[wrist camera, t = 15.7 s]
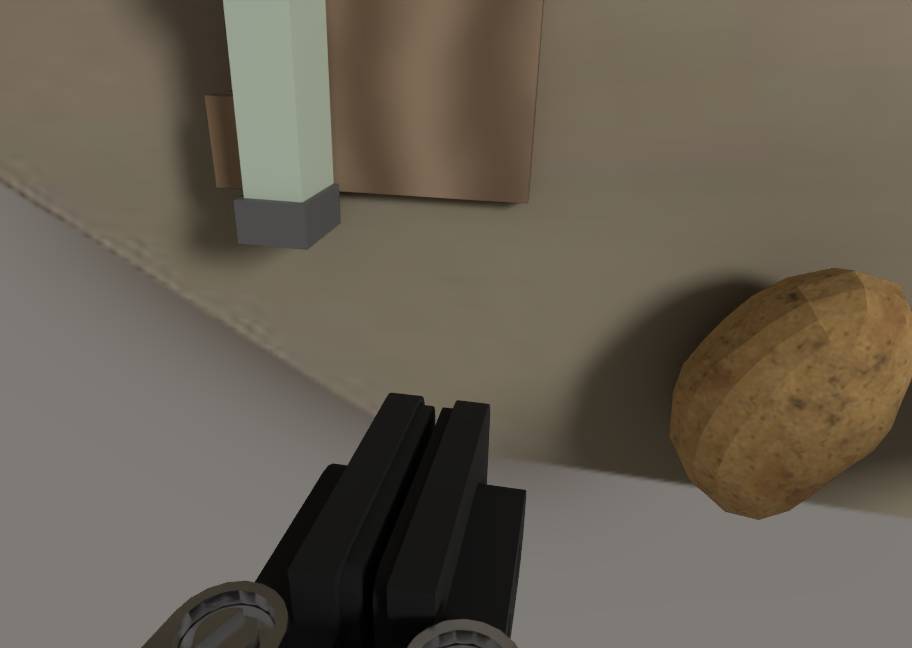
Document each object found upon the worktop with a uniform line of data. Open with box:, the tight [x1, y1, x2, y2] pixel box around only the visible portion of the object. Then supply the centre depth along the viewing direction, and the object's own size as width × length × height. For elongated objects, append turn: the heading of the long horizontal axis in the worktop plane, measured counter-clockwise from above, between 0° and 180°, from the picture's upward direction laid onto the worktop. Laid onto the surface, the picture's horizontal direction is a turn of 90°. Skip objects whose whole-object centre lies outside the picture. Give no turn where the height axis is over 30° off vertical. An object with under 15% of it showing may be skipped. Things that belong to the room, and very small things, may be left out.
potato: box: [669, 268, 912, 520], centre depth 32 cm, size 10×14×8 cm
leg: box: [223, 0, 341, 250], centre depth 30 cm, size 16×4×5 cm, turn 178°
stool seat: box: [205, 0, 544, 204], centre depth 29 cm, size 16×17×8 cm
